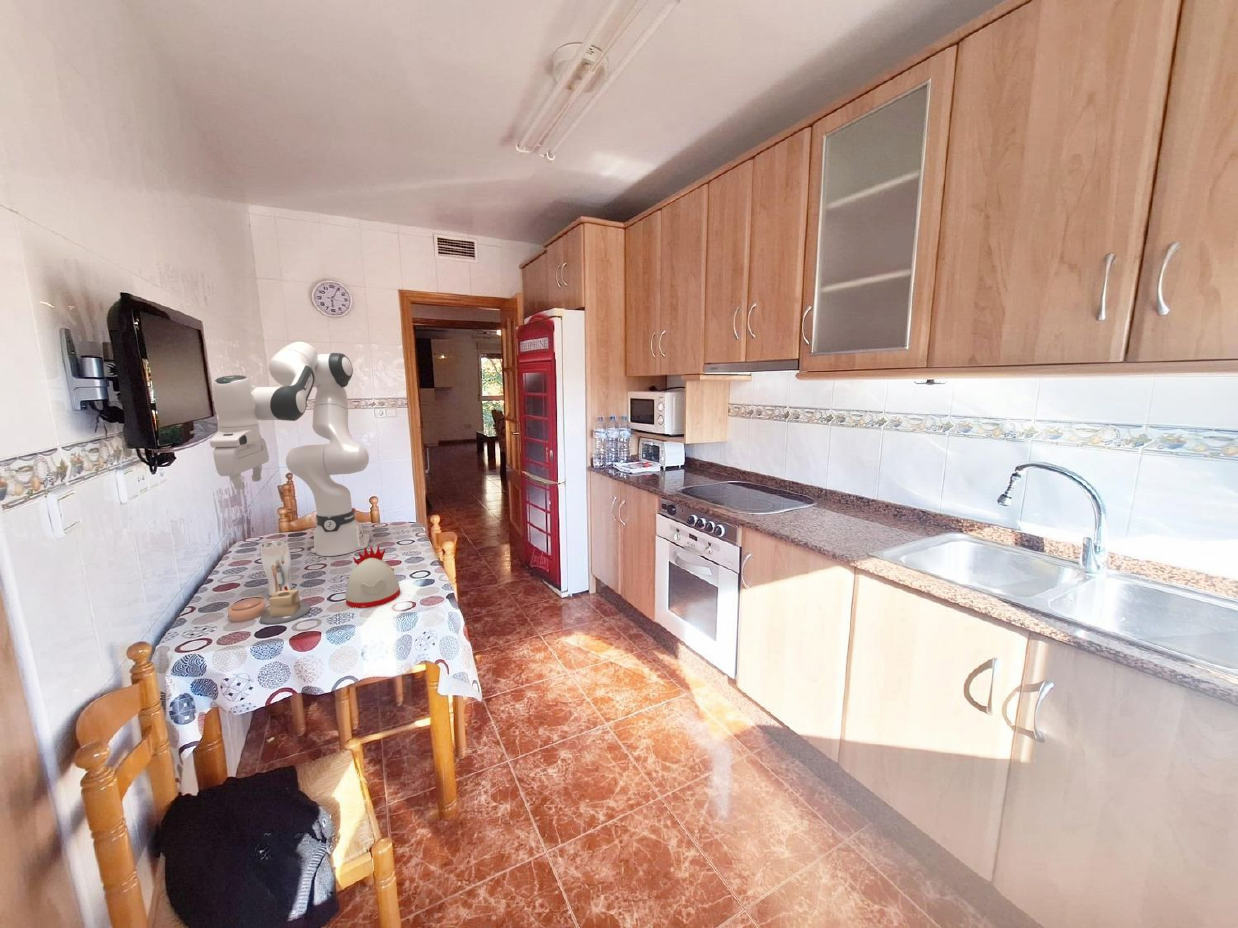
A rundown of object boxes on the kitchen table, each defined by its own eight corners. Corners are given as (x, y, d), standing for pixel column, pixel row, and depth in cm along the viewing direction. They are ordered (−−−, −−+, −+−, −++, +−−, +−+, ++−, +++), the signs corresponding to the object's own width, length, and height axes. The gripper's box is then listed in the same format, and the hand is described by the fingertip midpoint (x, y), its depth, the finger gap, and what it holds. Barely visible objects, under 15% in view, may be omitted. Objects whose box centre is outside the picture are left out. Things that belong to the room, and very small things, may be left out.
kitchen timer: (402, 600, 138) (397, 549, 135) (346, 612, 131) (340, 559, 128) (397, 583, 149) (392, 536, 147) (345, 593, 143) (339, 544, 140)
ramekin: (239, 610, 134) (237, 598, 133) (272, 607, 135) (270, 595, 135) (222, 624, 126) (220, 611, 125) (257, 620, 128) (255, 608, 127)
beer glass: (301, 588, 147) (294, 540, 144) (279, 598, 140) (272, 548, 138) (282, 586, 149) (276, 538, 146) (260, 595, 142) (253, 546, 140)
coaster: (273, 606, 135) (273, 604, 135) (317, 602, 137) (316, 600, 137) (252, 626, 124) (251, 624, 124) (300, 621, 126) (299, 619, 126)
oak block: (280, 608, 132) (277, 590, 132) (300, 606, 133) (298, 589, 133) (271, 617, 128) (268, 598, 127) (292, 615, 129) (289, 596, 128)
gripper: (247, 431, 144) (254, 477, 147) (205, 442, 124) (215, 494, 127) (271, 430, 145) (278, 475, 148) (233, 441, 126) (242, 493, 128)
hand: (248, 484), depth 137 cm, fingers open, 8 cm apart
